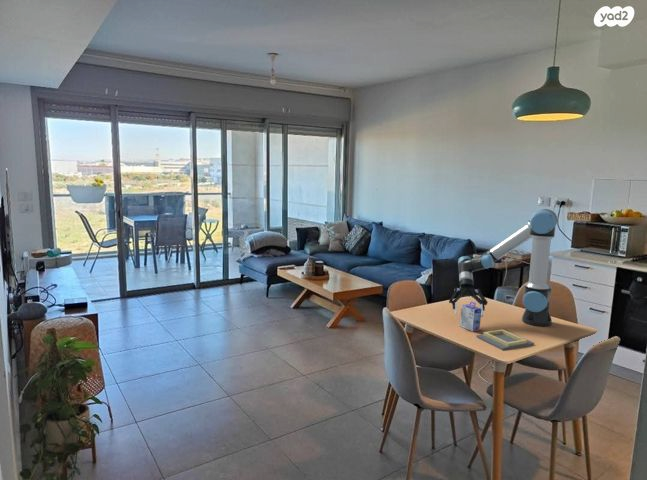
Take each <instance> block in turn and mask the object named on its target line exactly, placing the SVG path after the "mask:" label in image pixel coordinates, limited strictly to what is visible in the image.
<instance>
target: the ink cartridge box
mask: <svg viewBox="0 0 647 480" xmlns="http://www.w3.org/2000/svg"><path fill="white" fill-rule="evenodd" d="M476 305H477V303H476V302H474V301H470V302H469V304H462V305H461V308H460V317H459V318H460V319H459V327H461V328H463V329H466V330H468V331H470V332H479V331H480V330H481V320H482V319H481V318H482V317H481V309H480V307H477V306H476Z"/></svg>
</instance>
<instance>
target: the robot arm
mask: <svg viewBox="0 0 647 480" xmlns="http://www.w3.org/2000/svg"><path fill="white" fill-rule="evenodd" d="M557 224H558V215H557V213H555V212H554V211H553V210H551V209H547V208H546V209H541V210H538V211H536V212H534V213H533V214H532V215H531V216H530V219H529V220H528V221H527V224H524V225H523V226H522V227H520V228H519V229H518V230H516V231H515V232H514V233H512V234H510V235H509V236H507V237H506V238H505V239H503V240H502V241H500V242H499V243H497V244H496V245H495V246H493V247H491V248H490V249H488V250H487V251H486V252H484V253H482V254H481V255H479V256H477V257H474V258H471V257H470V256H468V255H465V256H461V257H459V258H458V261H457V268H458V277H459V278H458V279H459V280H458V281H459V288H458V287H456V286H455V287H454V289H453V293H452V294H451V296H450V298H449V300H448V303H449V304H452V310H454V315H455V316H457V315H458V303H457V302H458V301H459V300H460V299H461V298H462V297H469V298H470V297H471V298H473V299H474V300H475V301H476V302H477V303H478V304H479V308H480V309H481V318H483V317H484V311H485V310H486V309H485V307H486V306H487V305H488V304H489V303H488V300H487V299H486V298H485V296H484V295H483V293H482V291H481V288H479V287H478V288H477V289H475V287H474V275H473V274H474V272H477V271H481V270H485V269H489V268H493V267H494V265H495V263H496V262H497V261H499V260H500V259H502V258H503V257H504V256H506V255H507V254H509V253H511V252H512V251H513V250H514V251H515V249H517V248H519V247H520V246H521V245H523V244H524V243H525V242H527V241H529V240H530V239H532V242H531V243H532V244H531V252H530V253H531V254H530V262H529V263H530V264H529V272H528V273H529V274H528V282H526V283H525V285H524V293H523V296H522V304H523V306H524V308H525V310H524V312H523V314H522V318H521V320H522V322H523V323H525V324H527V325H530V326H536V327H550V326H552V322H553V321H552V320H553V319H552V317H551V314H550V306H551V304H550V303H551V293H552V285H551V284H549V283H547V280H548V271H549V260H550V252H551V251H550V250H551V242H552V241H551V240H552V239H553V238H555V233H556V227H557V226H556V225H557ZM458 292H459V294H458V295H457V296H456V294H457V293H458ZM455 296H456V297H455Z"/></svg>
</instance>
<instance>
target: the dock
mask: <svg viewBox="0 0 647 480" xmlns="http://www.w3.org/2000/svg"><path fill="white" fill-rule="evenodd" d="M475 336H476V338H477V339H479V340H481V341H482V342H483V341H484V342H486V344H489V345H491V346H493V347H495V348H497V349H500V350H502V351H506V350H512V349H518V348H523V347H529V346H534V345H535V342H533V341H531V340H528V339H526V338H524V337H522V336H519V335H517V334H515V333H512V332H510V331H508V330H505V329H497V330H495V329H494V330H489V331H483V334H477V335H475Z"/></svg>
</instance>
